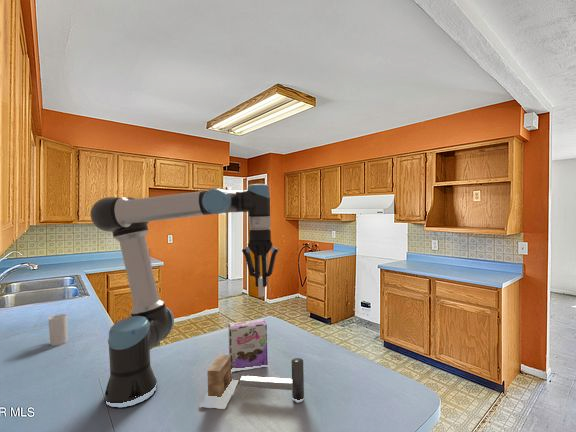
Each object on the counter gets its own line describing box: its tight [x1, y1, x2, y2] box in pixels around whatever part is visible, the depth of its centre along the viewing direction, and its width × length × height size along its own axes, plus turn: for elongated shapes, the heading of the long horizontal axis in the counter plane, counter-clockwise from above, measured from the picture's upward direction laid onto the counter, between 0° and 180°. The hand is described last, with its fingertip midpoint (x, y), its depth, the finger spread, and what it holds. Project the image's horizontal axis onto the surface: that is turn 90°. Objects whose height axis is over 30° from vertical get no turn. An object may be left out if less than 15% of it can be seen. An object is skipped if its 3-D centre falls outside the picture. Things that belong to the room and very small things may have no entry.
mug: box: [48, 313, 68, 347], centre depth 142 cm, size 10×7×12 cm, turn 64°
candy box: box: [228, 318, 268, 369], centre depth 117 cm, size 14×6×16 cm, turn 105°
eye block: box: [206, 354, 233, 397], centre depth 100 cm, size 8×14×10 cm, turn 171°
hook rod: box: [239, 357, 305, 400], centre depth 97 cm, size 20×4×12 cm, turn 81°
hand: (261, 295), depth 110 cm, fingers closed
